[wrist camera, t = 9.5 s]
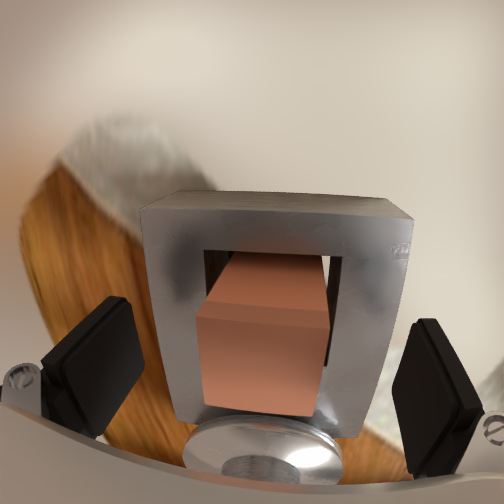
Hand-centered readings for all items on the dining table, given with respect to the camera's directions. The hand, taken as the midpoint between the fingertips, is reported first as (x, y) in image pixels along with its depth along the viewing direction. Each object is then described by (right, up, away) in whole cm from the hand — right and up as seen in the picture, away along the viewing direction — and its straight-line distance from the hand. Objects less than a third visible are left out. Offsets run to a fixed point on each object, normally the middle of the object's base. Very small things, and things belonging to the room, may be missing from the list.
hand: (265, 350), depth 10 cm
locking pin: (+1, +2, +6) cm, 7 cm away
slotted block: (+1, -3, +8) cm, 8 cm away
